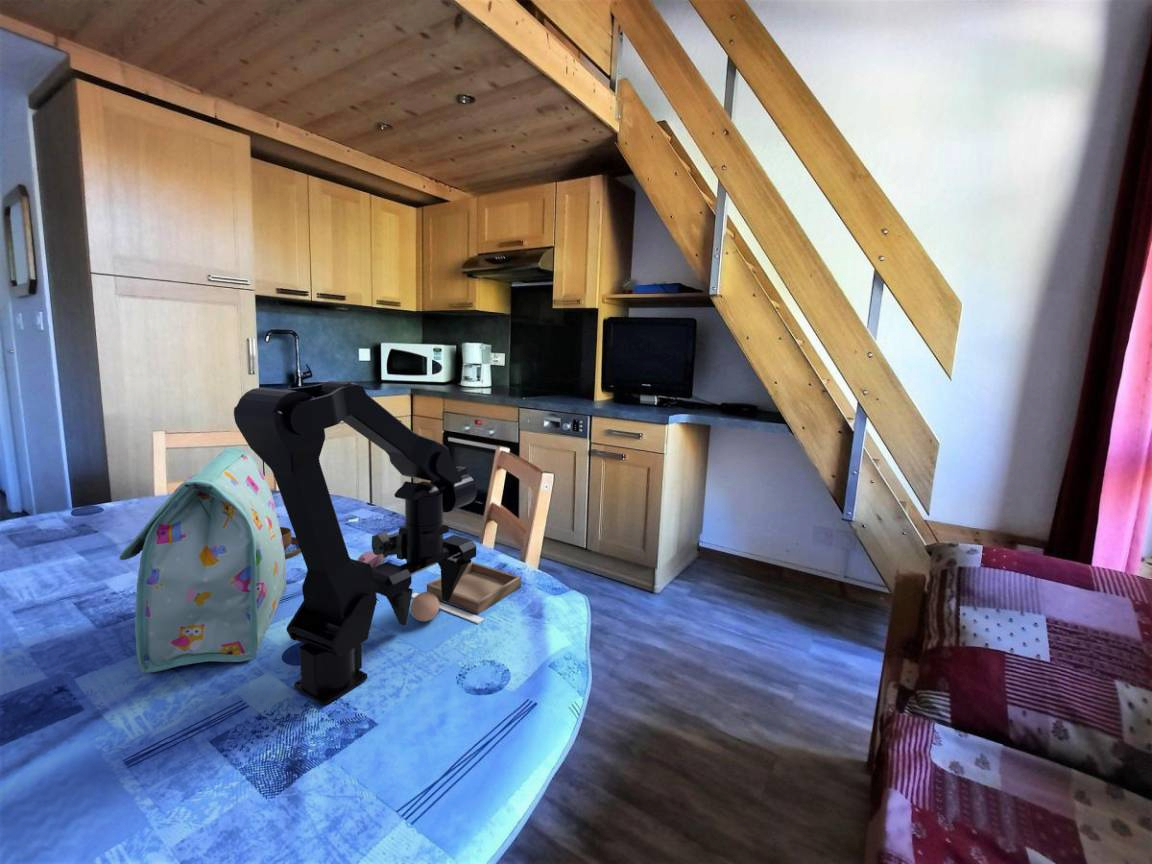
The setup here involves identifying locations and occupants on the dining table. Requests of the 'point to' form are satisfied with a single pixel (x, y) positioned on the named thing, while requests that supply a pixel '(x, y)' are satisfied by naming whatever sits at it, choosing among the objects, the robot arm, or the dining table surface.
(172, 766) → the dining table surface
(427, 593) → the ball
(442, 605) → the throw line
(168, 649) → the lunch bag
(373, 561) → the video game controller
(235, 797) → the dining table surface
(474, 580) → the tray
